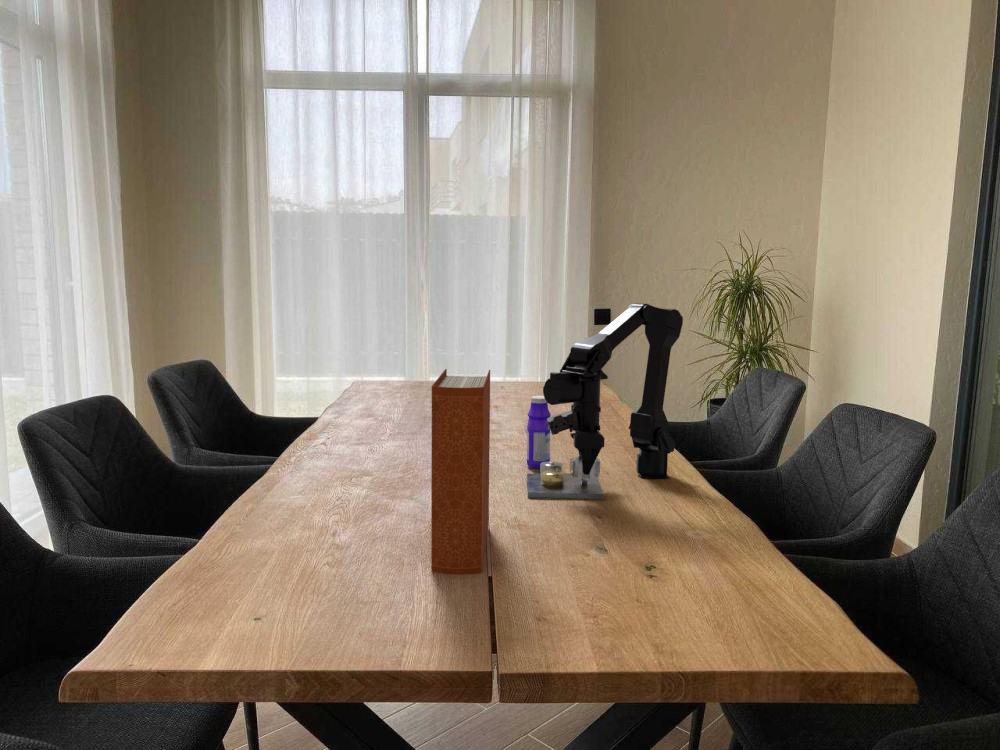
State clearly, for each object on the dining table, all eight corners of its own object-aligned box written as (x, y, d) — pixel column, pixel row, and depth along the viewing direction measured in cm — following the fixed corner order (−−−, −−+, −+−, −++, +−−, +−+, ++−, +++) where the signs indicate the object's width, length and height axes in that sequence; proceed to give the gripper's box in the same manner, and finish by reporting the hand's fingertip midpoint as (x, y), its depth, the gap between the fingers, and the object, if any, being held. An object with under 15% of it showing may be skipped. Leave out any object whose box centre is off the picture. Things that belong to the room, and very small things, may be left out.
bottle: (547, 470, 193) (549, 399, 191) (524, 469, 194) (525, 398, 192) (551, 463, 200) (553, 395, 198) (529, 462, 201) (530, 394, 199)
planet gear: (597, 471, 179) (598, 456, 178) (600, 479, 173) (601, 463, 172) (569, 471, 179) (569, 456, 179) (571, 478, 173) (571, 462, 172)
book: (444, 527, 149) (445, 368, 145) (488, 528, 149) (490, 369, 145) (430, 574, 127) (430, 387, 123) (481, 575, 126) (483, 388, 122)
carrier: (595, 479, 185) (596, 460, 184) (603, 499, 169) (604, 478, 169) (526, 478, 185) (527, 459, 185) (528, 498, 169) (528, 477, 169)
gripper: (547, 393, 183) (546, 460, 185) (551, 407, 164) (550, 481, 167) (596, 394, 183) (594, 460, 185) (605, 408, 164) (603, 482, 166)
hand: (584, 470), depth 176 cm, fingers closed on planet gear, 6 cm apart
